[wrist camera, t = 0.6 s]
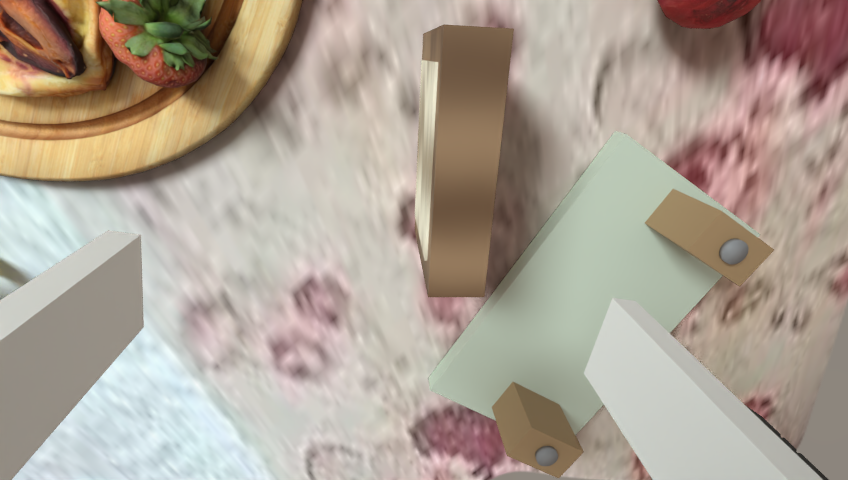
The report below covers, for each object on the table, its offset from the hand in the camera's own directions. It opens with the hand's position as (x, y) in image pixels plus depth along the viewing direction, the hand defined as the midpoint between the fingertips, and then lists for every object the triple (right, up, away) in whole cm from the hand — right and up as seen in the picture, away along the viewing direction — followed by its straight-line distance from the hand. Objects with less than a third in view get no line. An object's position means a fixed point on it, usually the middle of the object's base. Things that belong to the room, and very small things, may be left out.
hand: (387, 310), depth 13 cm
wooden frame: (+2, +9, +18) cm, 20 cm away
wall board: (+14, -3, +24) cm, 28 cm away
